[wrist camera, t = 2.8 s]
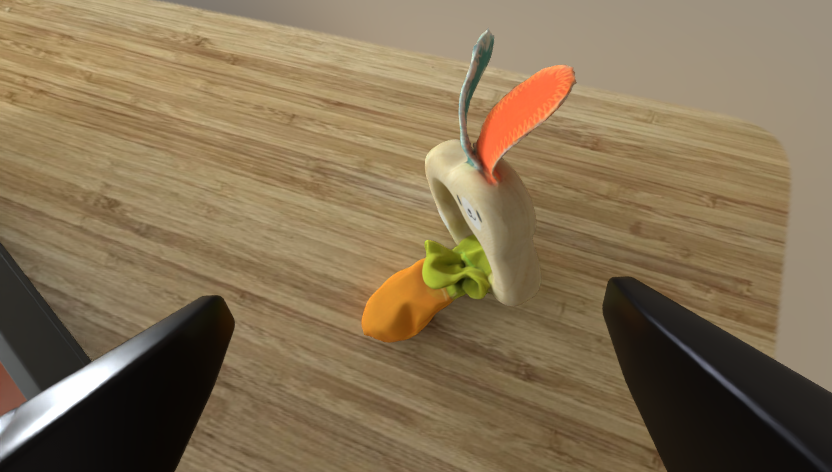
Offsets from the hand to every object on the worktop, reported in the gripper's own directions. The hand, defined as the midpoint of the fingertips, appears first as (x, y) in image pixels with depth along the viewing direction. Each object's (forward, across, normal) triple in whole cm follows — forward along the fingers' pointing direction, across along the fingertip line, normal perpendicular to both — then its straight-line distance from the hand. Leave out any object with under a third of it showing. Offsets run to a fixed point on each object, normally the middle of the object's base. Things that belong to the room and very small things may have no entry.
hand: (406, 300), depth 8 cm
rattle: (+9, 0, +5) cm, 10 cm away
